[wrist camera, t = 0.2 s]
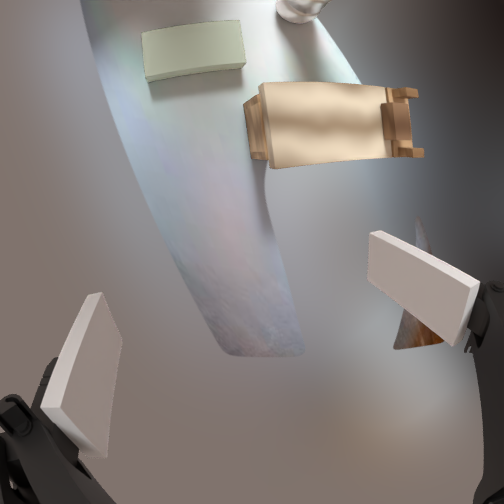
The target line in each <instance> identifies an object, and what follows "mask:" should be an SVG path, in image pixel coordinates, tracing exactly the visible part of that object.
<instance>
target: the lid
mask: <svg viewBox="0 0 504 504" xmlns="http://www.w3.org/2000/svg"><path fill="white" fill-rule="evenodd" d="M258 88H259V95H260V102H261V108H262V115H263V122H264V129H265V136H266V143H267V151H268V158H269V166H270V168H272V169H281V168H288V167H295V166H303V165H311V164H320V163H329V162H339V161H350V160H362V159H375V158H392V150H391V140H385V139H384V128H383V119H382V111H381V103H387V101H386V94H385V88H384V87H379V86H369V85H360V84H349V83H333V82H267V83H262V84H261V85H260V86H258Z"/></svg>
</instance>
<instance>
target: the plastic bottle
mask: <svg viewBox="0 0 504 504" xmlns="http://www.w3.org/2000/svg"><path fill="white" fill-rule="evenodd" d="M330 1H332V0H277V1H276V10H277V12H278V13H279V15H280V16H281V17H282V18H283V19H285V20H287V21H289V22H292V23H297V24H302V23H306V22H309V21H311V20H313V19H315V18H316V17H317V15H318V14H319V13H320V12H321V10H322V9H323V8H324V7H325V6H326V5H327V4H328V3H329V2H330Z"/></svg>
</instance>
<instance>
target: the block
mask: <svg viewBox="0 0 504 504" xmlns="http://www.w3.org/2000/svg"><path fill="white" fill-rule="evenodd" d="M381 111H382V119H383V128H384V139H385V140H412V138H411V126H410V116H409V108H408V104H404V103H395V102H390V103H381Z"/></svg>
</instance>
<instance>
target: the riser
mask: <svg viewBox="0 0 504 504" xmlns="http://www.w3.org/2000/svg"><path fill="white" fill-rule="evenodd" d="M141 36H142V49H143V60H144V70H145V78H146V80H147V82H152V81H157V80H161V79H166V78H172V77H177V76H183V75H189V74H196V73H203V72H210V71H219V70H229V69H241V68H242V67H243V66H244V65H245V63H246V57H245V50H244V44H243V38H242V32H241V26H240V21H239V20H228V21H213V22H203V23H194V24H186V25H179V26H173V27H167V28H161V29H156V30H151V31H146V32H142V33H141Z"/></svg>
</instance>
